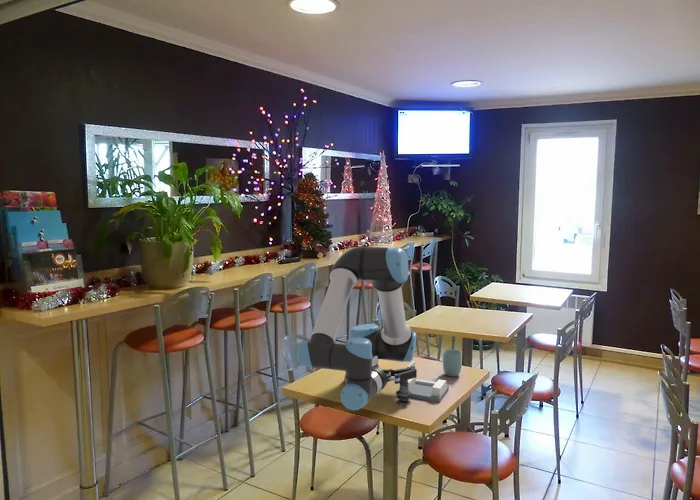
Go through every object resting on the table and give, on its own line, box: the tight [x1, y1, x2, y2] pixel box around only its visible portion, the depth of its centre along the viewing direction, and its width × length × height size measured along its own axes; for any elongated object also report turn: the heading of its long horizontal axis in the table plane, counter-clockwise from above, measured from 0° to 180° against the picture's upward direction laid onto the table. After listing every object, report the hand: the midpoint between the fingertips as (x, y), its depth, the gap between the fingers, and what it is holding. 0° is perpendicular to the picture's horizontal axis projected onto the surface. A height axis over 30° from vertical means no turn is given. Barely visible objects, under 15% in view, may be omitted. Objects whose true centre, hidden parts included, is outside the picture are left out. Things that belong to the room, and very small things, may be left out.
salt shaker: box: [395, 380, 412, 406], centre depth 191 cm, size 6×6×12 cm
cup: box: [442, 348, 463, 377], centre depth 220 cm, size 8×8×10 cm
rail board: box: [408, 377, 450, 403], centre depth 201 cm, size 16×13×4 cm
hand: (395, 362), depth 181 cm, fingers open, 13 cm apart
